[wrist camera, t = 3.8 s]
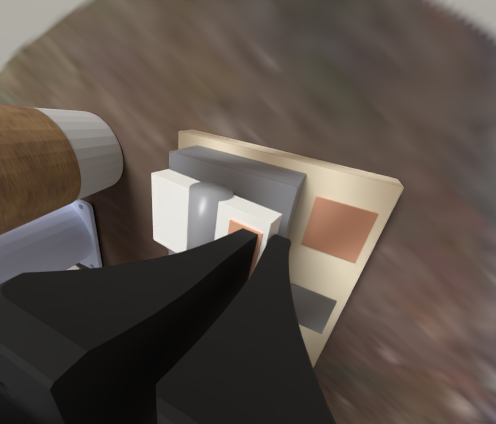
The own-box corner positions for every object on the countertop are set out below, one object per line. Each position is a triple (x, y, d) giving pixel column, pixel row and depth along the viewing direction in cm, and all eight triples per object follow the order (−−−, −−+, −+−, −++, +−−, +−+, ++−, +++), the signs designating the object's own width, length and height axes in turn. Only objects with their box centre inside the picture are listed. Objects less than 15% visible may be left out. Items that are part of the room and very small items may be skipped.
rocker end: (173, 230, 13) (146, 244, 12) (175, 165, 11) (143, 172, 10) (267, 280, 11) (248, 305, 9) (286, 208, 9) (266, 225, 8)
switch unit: (183, 318, 23) (155, 354, 20) (193, 129, 15) (147, 135, 11) (302, 377, 20) (293, 432, 16) (397, 179, 12) (418, 207, 8)
